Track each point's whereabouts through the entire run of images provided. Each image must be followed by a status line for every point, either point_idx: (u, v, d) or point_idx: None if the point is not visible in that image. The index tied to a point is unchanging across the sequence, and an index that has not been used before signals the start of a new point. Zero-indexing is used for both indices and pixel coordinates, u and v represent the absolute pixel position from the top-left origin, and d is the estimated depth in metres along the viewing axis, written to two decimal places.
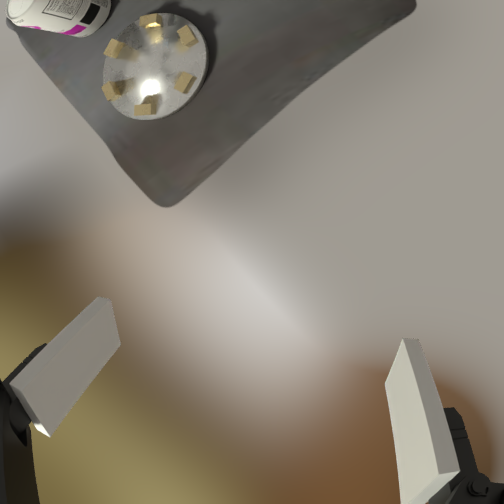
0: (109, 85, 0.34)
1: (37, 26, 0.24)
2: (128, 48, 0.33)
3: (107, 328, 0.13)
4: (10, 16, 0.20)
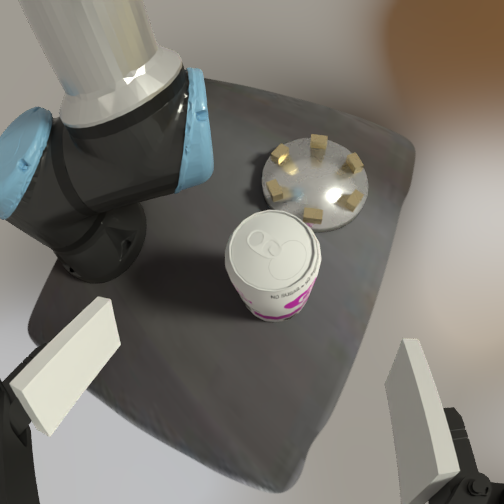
0: (350, 198, 0.40)
1: None
2: (307, 205, 0.41)
3: (107, 328, 0.13)
4: (310, 261, 0.25)
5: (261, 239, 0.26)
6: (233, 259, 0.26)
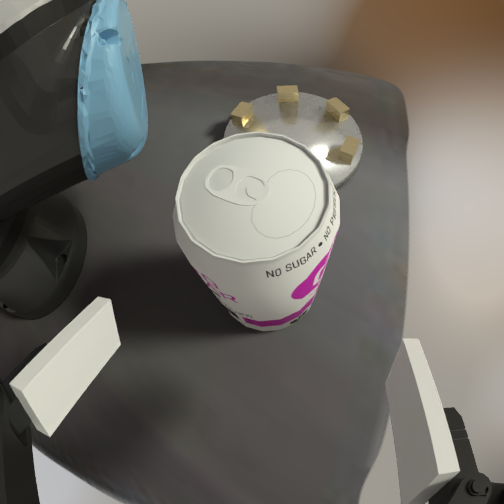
0: (343, 146, 0.29)
1: None
2: None
3: (107, 328, 0.13)
4: (324, 198, 0.14)
5: (230, 178, 0.14)
6: (185, 221, 0.14)
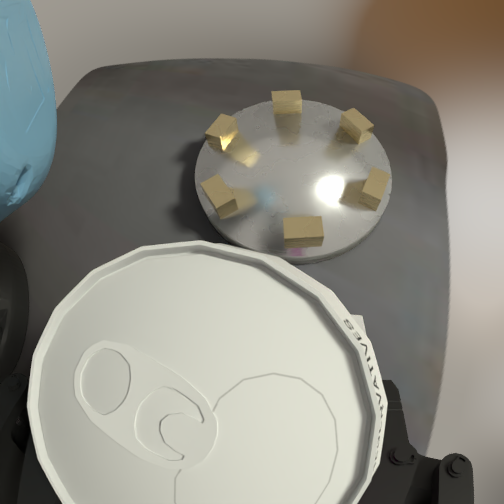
0: (367, 185, 0.20)
1: None
2: (288, 214, 0.21)
3: None
4: (358, 457, 0.04)
5: (125, 384, 0.05)
6: (50, 460, 0.04)
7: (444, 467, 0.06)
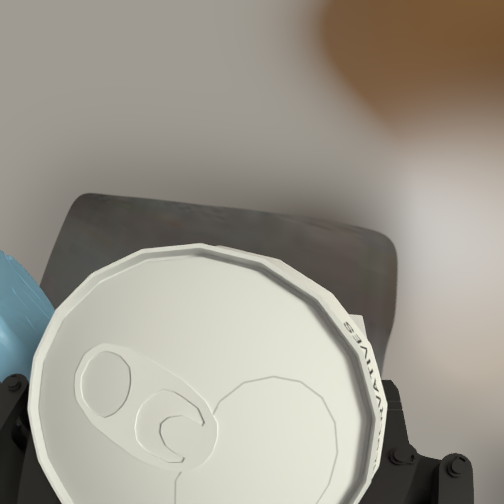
0: None
1: None
2: None
3: None
4: (357, 459, 0.04)
5: (125, 387, 0.05)
6: (51, 462, 0.04)
7: (444, 467, 0.06)
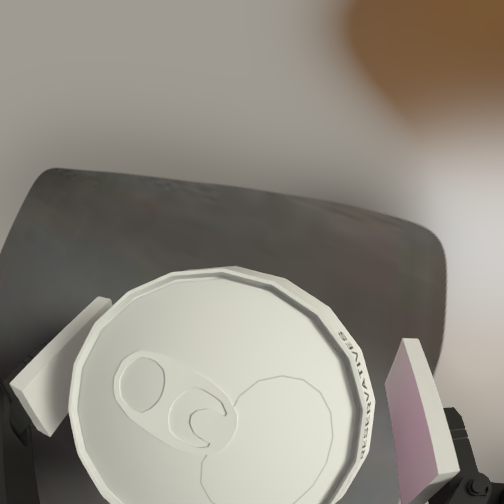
0: None
1: None
2: None
3: None
4: (349, 443, 0.06)
5: (160, 386, 0.06)
6: (89, 454, 0.06)
7: None
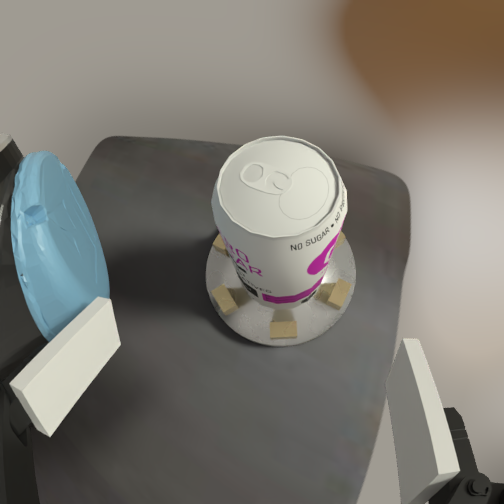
0: (332, 295, 0.28)
1: None
2: (274, 313, 0.30)
3: (107, 328, 0.13)
4: (335, 189, 0.17)
5: (261, 173, 0.18)
6: (225, 205, 0.17)
7: None
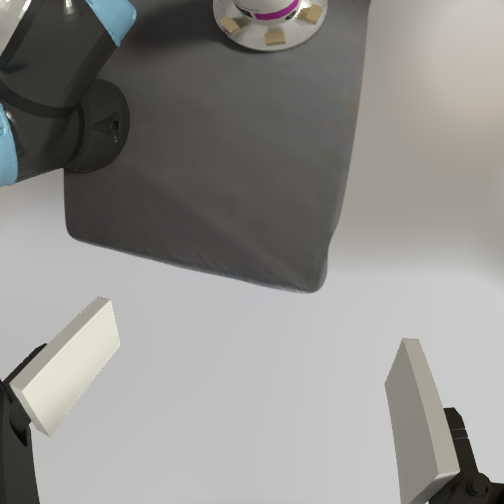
0: (308, 14, 0.30)
1: None
2: (268, 29, 0.33)
3: (107, 328, 0.13)
4: None
5: None
6: None
7: None
